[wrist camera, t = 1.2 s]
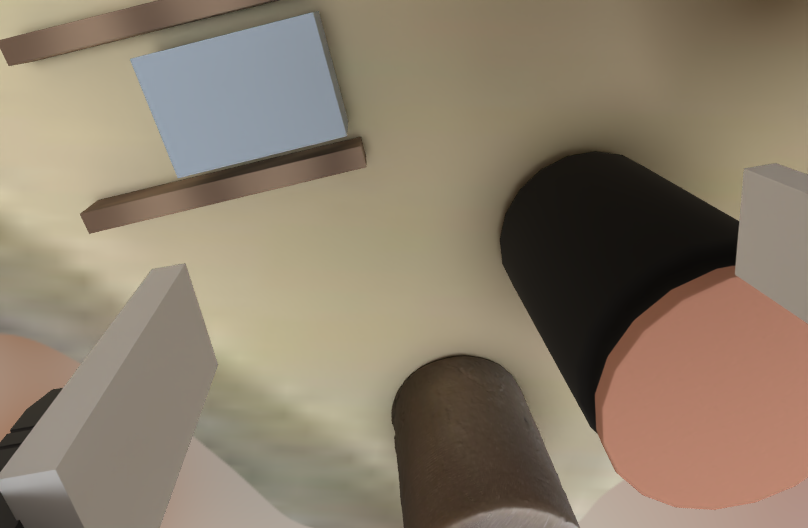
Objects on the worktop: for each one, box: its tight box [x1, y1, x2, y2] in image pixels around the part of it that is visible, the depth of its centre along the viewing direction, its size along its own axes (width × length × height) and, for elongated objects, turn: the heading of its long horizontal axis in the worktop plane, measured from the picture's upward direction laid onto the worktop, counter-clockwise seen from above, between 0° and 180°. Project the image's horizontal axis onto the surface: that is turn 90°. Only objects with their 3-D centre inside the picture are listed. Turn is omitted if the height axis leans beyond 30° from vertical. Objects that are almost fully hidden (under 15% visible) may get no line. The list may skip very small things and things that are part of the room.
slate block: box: [130, 11, 348, 178], centre depth 31 cm, size 9×6×4 cm, turn 103°
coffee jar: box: [500, 151, 808, 510], centre depth 30 cm, size 11×11×18 cm
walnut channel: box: [0, 0, 366, 234], centre depth 32 cm, size 16×10×2 cm, turn 103°
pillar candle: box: [392, 356, 580, 528], centre depth 36 cm, size 10×10×15 cm
